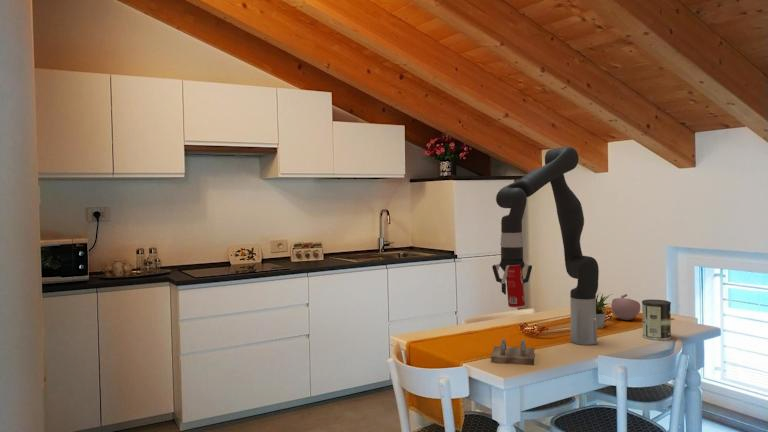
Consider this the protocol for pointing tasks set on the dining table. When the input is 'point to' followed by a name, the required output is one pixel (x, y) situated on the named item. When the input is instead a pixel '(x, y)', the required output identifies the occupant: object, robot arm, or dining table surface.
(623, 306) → the pink apple
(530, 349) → the peg board
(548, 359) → the dining table surface
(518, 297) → the beverage can
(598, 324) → the house plant
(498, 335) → the dining table surface
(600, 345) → the dining table surface
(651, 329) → the coffee can
